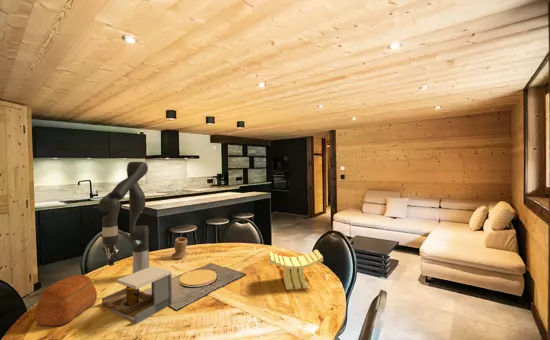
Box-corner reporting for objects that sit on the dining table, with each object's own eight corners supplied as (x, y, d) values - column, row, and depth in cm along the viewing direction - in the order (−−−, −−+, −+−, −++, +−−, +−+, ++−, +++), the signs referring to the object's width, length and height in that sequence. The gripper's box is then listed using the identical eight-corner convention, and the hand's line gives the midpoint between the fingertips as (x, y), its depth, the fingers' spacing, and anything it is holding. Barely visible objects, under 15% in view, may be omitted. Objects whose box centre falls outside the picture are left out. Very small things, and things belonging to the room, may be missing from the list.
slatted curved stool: (316, 275, 167) (315, 248, 167) (323, 287, 151) (322, 256, 151) (269, 278, 164) (269, 250, 164) (272, 290, 148) (271, 259, 148)
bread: (30, 327, 118) (28, 290, 118) (69, 302, 140) (68, 271, 139) (67, 327, 117) (65, 290, 117) (101, 302, 139) (100, 271, 138)
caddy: (102, 304, 135) (102, 298, 135) (131, 291, 149) (131, 285, 149) (125, 314, 126) (124, 307, 126) (154, 299, 140) (154, 293, 140)
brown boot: (185, 259, 200) (184, 240, 200) (169, 260, 200) (168, 240, 199) (190, 253, 215) (190, 235, 215) (176, 253, 215) (175, 235, 214)
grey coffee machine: (109, 311, 129) (108, 276, 129) (145, 294, 146) (144, 263, 146) (137, 324, 119) (136, 286, 118) (172, 304, 135) (171, 270, 135)
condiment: (140, 304, 136) (140, 281, 136) (122, 309, 131) (121, 286, 131) (139, 298, 142) (138, 276, 142) (121, 303, 137) (120, 280, 137)
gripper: (96, 234, 145) (97, 265, 145) (110, 237, 138) (111, 269, 138) (110, 231, 151) (111, 261, 151) (124, 234, 145) (124, 265, 145)
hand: (111, 265), depth 145 cm, fingers closed
